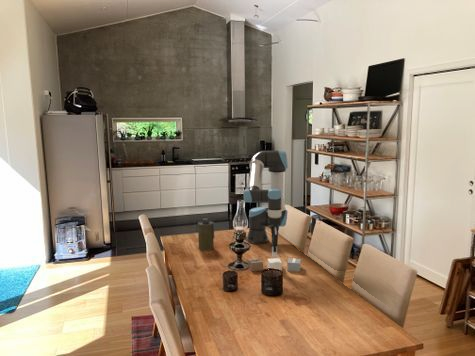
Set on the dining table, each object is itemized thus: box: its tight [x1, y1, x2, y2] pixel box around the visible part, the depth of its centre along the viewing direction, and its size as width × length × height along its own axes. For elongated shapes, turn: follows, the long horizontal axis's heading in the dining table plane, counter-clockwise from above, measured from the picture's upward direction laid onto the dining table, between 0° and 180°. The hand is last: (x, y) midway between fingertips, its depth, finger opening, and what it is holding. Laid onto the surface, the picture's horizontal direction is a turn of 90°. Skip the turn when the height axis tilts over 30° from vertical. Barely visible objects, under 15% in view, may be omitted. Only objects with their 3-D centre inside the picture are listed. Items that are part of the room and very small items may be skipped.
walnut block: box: [247, 257, 264, 272], centre depth 219 cm, size 7×7×5 cm
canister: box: [197, 218, 215, 251], centre depth 255 cm, size 11×10×20 cm
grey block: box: [286, 257, 302, 273], centre depth 217 cm, size 7×7×5 cm
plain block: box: [267, 257, 283, 272], centre depth 218 cm, size 7×7×5 cm
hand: (274, 256), depth 217 cm, fingers closed
